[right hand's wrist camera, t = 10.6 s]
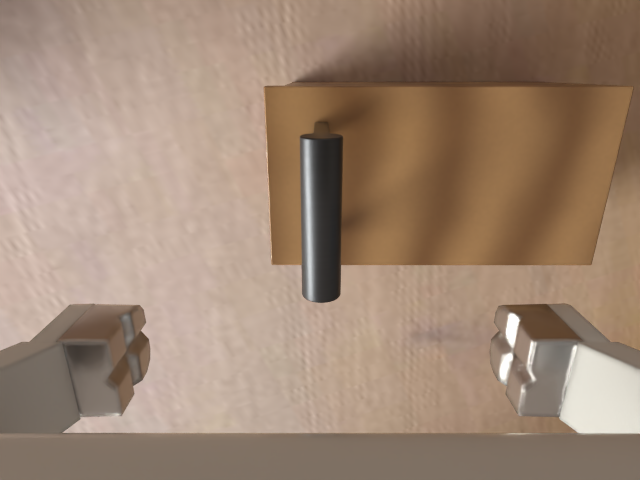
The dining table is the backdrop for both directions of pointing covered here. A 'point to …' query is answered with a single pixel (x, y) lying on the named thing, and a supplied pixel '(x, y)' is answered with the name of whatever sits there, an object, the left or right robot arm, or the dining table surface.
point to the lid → (437, 175)
